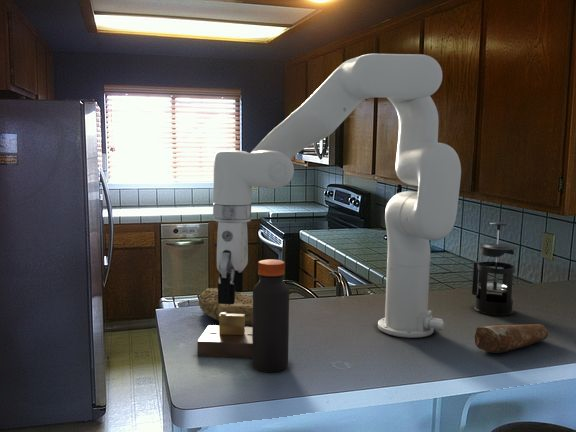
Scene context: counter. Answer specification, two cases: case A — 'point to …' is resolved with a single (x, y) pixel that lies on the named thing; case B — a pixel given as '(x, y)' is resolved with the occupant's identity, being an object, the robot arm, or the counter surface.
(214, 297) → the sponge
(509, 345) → the bread
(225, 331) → the thumbturn
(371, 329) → the counter surface
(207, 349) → the lock plate
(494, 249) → the french press
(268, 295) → the bottle
